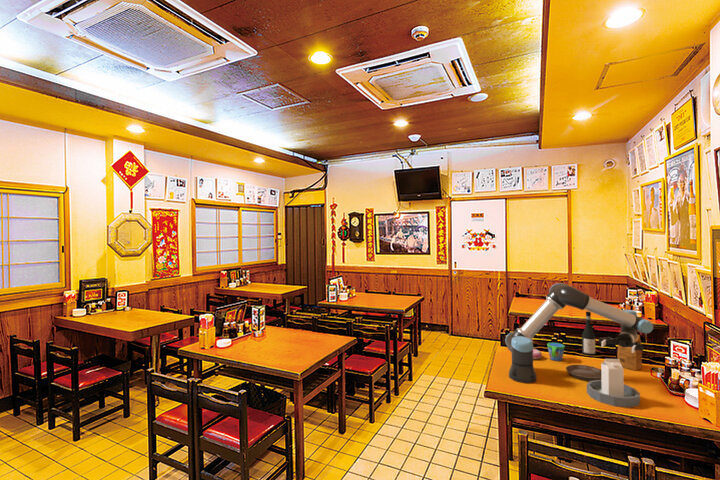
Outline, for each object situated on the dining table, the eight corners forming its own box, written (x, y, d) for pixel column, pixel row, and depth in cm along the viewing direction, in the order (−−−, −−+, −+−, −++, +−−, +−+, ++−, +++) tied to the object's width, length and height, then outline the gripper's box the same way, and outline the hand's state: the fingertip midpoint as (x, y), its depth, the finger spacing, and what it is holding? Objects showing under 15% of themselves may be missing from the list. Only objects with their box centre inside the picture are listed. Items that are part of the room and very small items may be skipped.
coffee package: (623, 362, 236) (623, 329, 235) (645, 369, 224) (644, 334, 224) (614, 365, 232) (613, 331, 231) (635, 371, 220) (635, 336, 220)
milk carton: (601, 391, 191) (601, 356, 190) (616, 392, 190) (615, 356, 189) (608, 397, 184) (608, 361, 183) (623, 398, 183) (623, 361, 182)
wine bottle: (596, 356, 249) (596, 313, 249) (583, 355, 252) (583, 312, 252) (593, 352, 257) (593, 311, 257) (581, 351, 260) (580, 310, 259)
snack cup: (551, 354, 253) (551, 340, 253) (568, 358, 246) (567, 343, 246) (543, 360, 243) (543, 345, 242) (560, 364, 235) (560, 348, 235)
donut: (544, 361, 242) (544, 353, 242) (523, 360, 244) (523, 352, 244) (538, 354, 255) (538, 347, 255) (518, 353, 257) (518, 346, 257)
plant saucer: (590, 385, 202) (590, 379, 202) (558, 372, 221) (558, 367, 221) (614, 379, 210) (614, 374, 210) (581, 367, 229) (581, 362, 229)
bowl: (596, 404, 179) (595, 395, 179) (582, 386, 200) (581, 378, 200) (647, 409, 173) (647, 400, 173) (627, 390, 194) (627, 382, 194)
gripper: (652, 351, 199) (646, 360, 184) (599, 341, 217) (590, 348, 202) (652, 337, 199) (646, 345, 184) (599, 329, 217) (590, 335, 202)
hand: (616, 347), depth 193 cm, fingers open, 13 cm apart
